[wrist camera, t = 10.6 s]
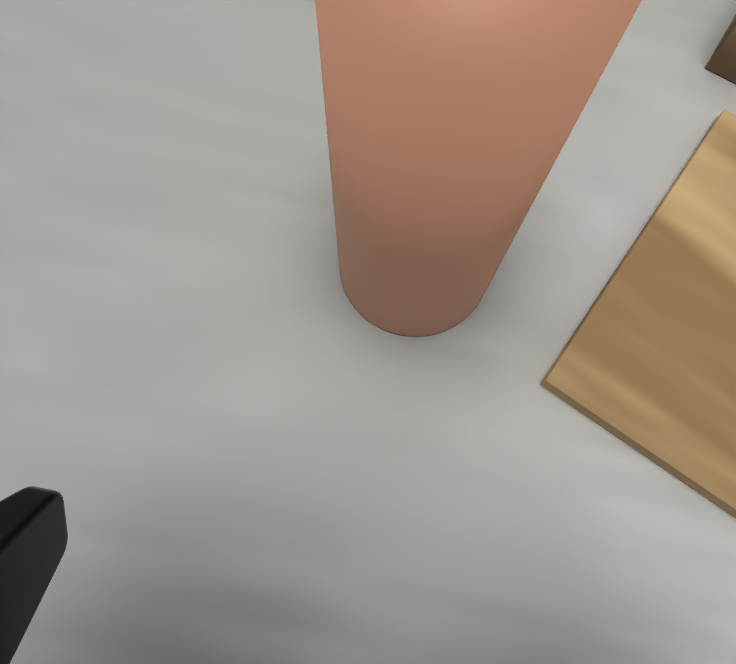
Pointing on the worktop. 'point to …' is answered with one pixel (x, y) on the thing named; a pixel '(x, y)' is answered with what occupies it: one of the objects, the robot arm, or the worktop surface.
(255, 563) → the worktop surface
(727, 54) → the open wooden box
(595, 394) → the brown wooden flat block
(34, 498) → the robot arm
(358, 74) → the post
